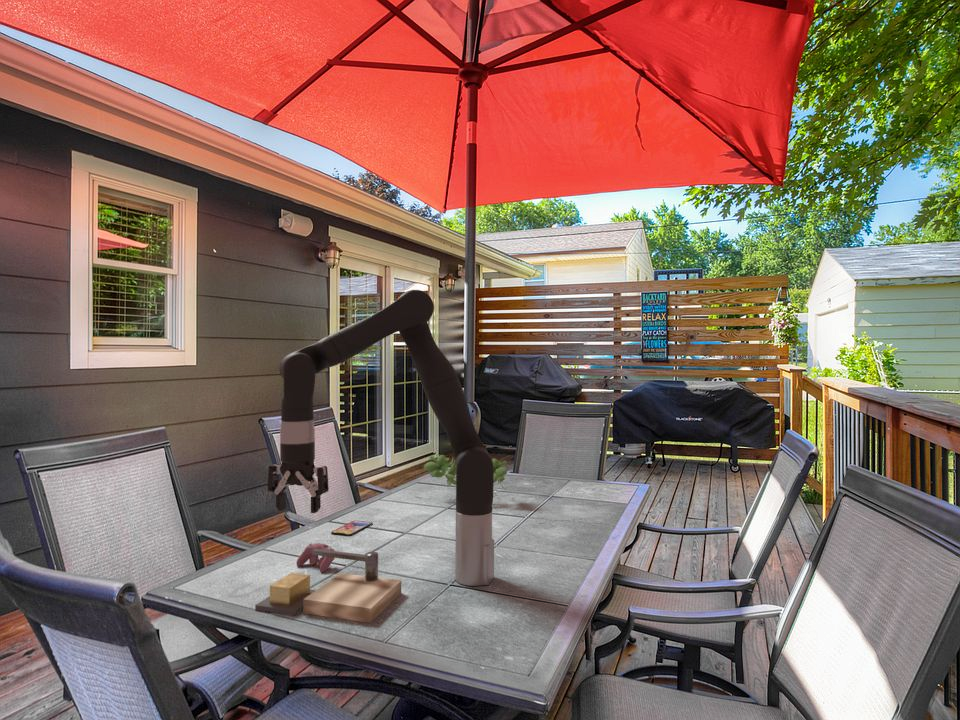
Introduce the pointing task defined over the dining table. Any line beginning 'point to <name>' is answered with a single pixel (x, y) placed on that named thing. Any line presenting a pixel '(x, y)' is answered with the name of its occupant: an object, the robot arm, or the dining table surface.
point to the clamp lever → (368, 558)
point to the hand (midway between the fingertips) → (298, 511)
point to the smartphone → (351, 528)
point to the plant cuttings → (443, 466)
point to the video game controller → (316, 556)
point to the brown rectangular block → (289, 589)
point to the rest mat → (290, 610)
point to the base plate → (352, 597)
